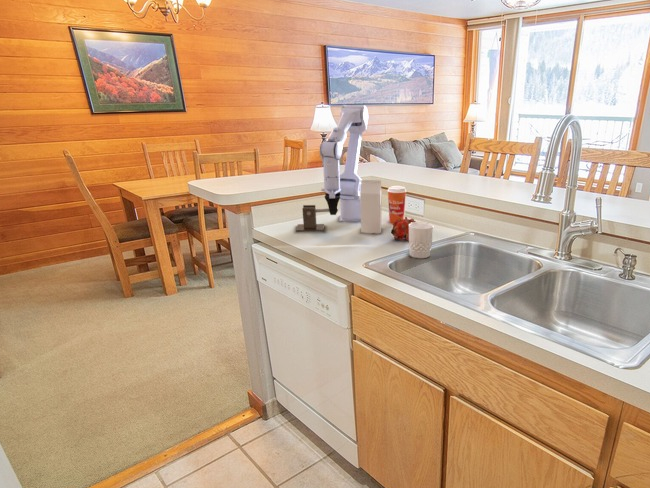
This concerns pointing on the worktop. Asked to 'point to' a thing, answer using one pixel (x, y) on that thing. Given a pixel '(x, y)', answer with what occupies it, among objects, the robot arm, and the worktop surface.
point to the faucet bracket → (309, 220)
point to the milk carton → (370, 206)
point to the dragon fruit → (401, 228)
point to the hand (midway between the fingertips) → (333, 213)
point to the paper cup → (396, 202)
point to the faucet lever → (322, 210)
